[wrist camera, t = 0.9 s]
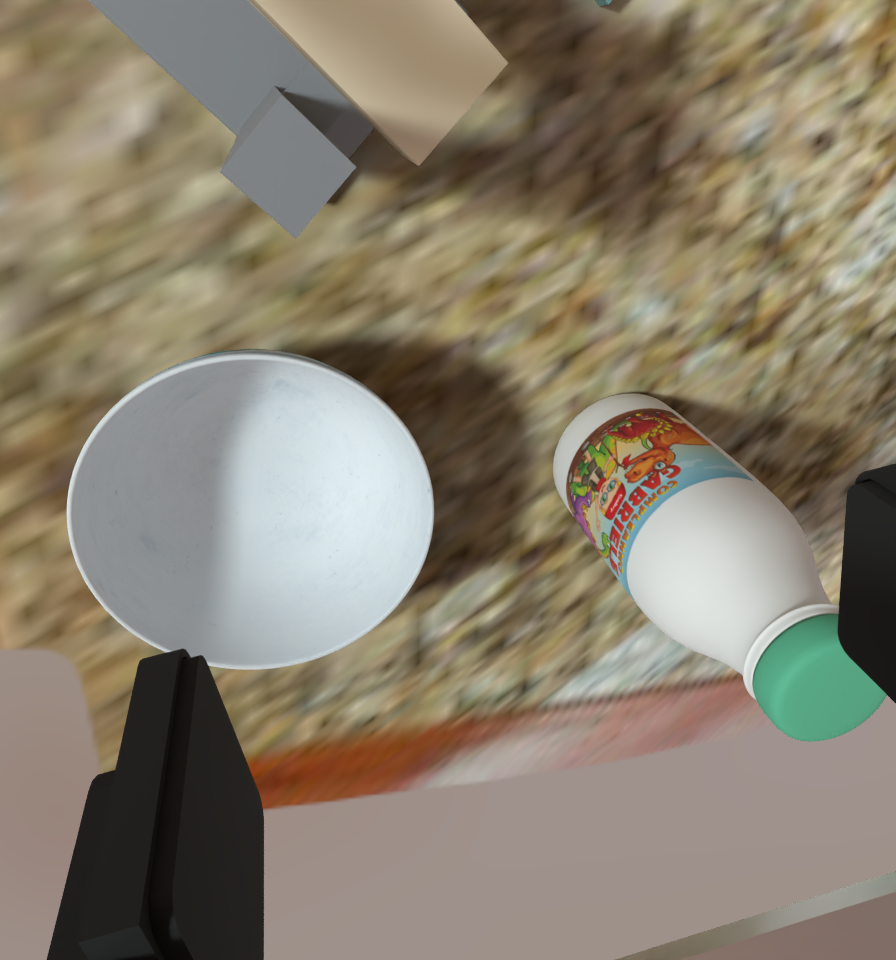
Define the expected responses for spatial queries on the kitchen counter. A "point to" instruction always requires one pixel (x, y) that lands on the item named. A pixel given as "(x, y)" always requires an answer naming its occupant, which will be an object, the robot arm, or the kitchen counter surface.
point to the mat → (603, 2)
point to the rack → (253, 99)
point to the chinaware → (250, 509)
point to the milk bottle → (712, 560)
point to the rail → (394, 61)
